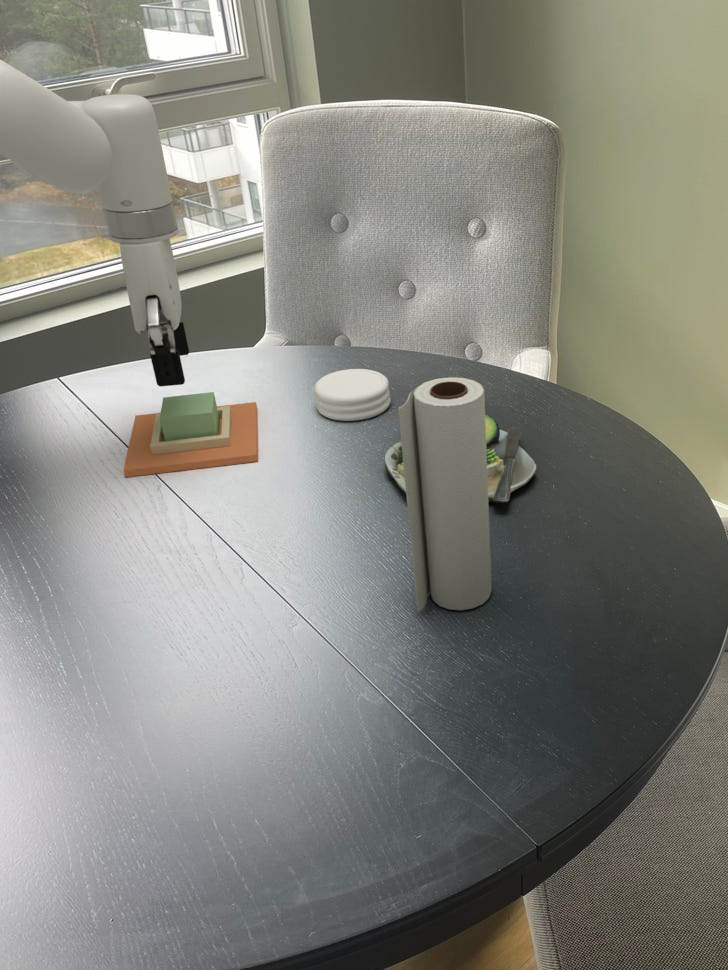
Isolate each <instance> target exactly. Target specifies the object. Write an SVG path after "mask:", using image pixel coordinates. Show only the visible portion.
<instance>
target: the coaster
mask: <svg viewBox="0 0 728 970" xmlns="http://www.w3.org/2000/svg"><path fill="white" fill-rule="evenodd" d="M389 386H390V383H389V379H388V378H387V376H386V375H384V374H382V373H381V372H379V371H376V370H372V369H366V368H349V369H342V370H341V369H340V370H337V371H333V372H331V373H327V374H326V375H324V376H322V377H321V378H319V379H318V380H317V381H316V383H315V385H314V389H313V391H314V394H315V401H316V409H317V411H318V412H319V414H321V415H322V416H324V417H325V418H328V419H330V420H334V421H339V422H355V421H362V420H363V421H364V420H369V419H372V418H374V417H377V416H378V415H381V414H382V413H384V412H385V411H387V410H388V408H389V406H390V405H391V396H390V393H391V391H390V388H389Z"/></svg>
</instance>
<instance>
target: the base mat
mask: <svg viewBox="0 0 728 970" xmlns="http://www.w3.org/2000/svg"><path fill="white" fill-rule="evenodd" d="M217 409H218V414H219V418H220V428H219V435H216V436H207V437H199V438H190V439H181V440H173V441H165V438H164V434H163V430H162V426H161V422H160V413H161V412H154V413H146V414H145V413H144V414H137V415H136V414H135V416H134V421H133V426H132V430H131V434H130V438H129V443H128V446H127V447H128V448H127V453H126V456H125V461H124V466H123V470H122V471H123V474H124V477H125V478H131V477H132V478H133V477H140V476H148V475H149V476H150V475H157V474H166V473H174V472H182V471H191V470H199V469H207V468H215V467H223V466H233V465H240V464H249V463H257V462H259V436H258V435H259V429H258V425H259V424H258V404H257V402H256V401H252V402H244V403H234V404H227V405H226V404H225V405H217ZM198 468H199V469H198ZM173 471H174V472H173Z"/></svg>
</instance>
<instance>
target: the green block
mask: <svg viewBox="0 0 728 970" xmlns="http://www.w3.org/2000/svg"><path fill="white" fill-rule="evenodd" d="M217 406H218V405H217V399H216V396H215V392H214V391H211V392H210V391H209V392H200V393H192V394H182V395H174V396H172V395H171V396H164V397H162V402H161V408H160V412H159V413H160V422H161V426H162V430H163V434H164V438H165V441H173V440H181V439H190V438H199V437H207V436H216V435H219V428H220V418H219V414H218V409H217Z"/></svg>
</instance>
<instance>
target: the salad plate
mask: <svg viewBox="0 0 728 970" xmlns="http://www.w3.org/2000/svg"><path fill="white" fill-rule="evenodd" d="M485 423H486V451H487V478H488V503H490V502H494V503H498V504H506V503H508V502H509V501H510V498H511V493H513V492H514V491H516V490H518V489H520V488H522V487H523V486H525V485H526V484H528V482H530V481H531V479H532V477H534V476H535V475H536V473H537V464H536V462H535V461H534V459H533V458H532V457H531V456H530V455H529V454H528V453H527V452H526V451H525V450H524V449H523V448H522V447H521V446H520V443H521V440H522V431H521V429H520V428H518V427H515V426H509V427H508V429H506V430H503V429H500V426H499V423H498V422H497V421H496V420H495V419H494V418H493V416H491V415H490V414H487V413H485ZM383 459H384V462H383V463H384V467H385V470H386V473H387V474H388V475H389V476H390V477H391V478H393V480H394V482H395V483H396V485H397V486H398V487H399V488H400V490H402V491H403V492H404V493H405V494H406V485H405V474H404V463H403V453H402V442H401V441H398V442H396V443H395V444H393V445H392V446H391V447H389V448H388V450H387V451H386V452H385V454H384V457H383Z"/></svg>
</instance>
